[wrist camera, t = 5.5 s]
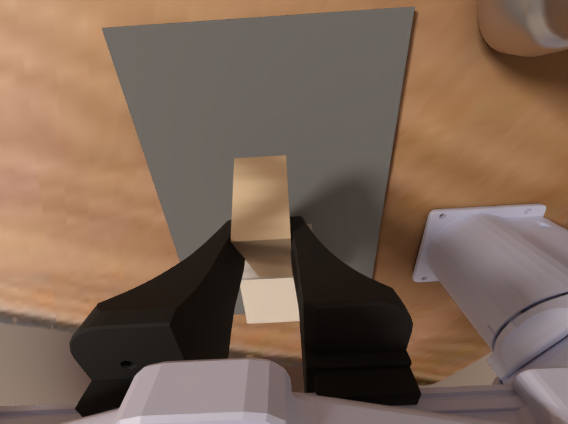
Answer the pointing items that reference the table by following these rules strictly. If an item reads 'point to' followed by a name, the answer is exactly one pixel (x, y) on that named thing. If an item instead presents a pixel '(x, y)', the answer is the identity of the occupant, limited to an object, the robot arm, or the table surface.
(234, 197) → the tan upright post
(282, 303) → the tile
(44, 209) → the table surface
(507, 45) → the plastic bottle
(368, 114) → the mat
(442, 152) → the table surface
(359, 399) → the robot arm
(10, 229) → the table surface
